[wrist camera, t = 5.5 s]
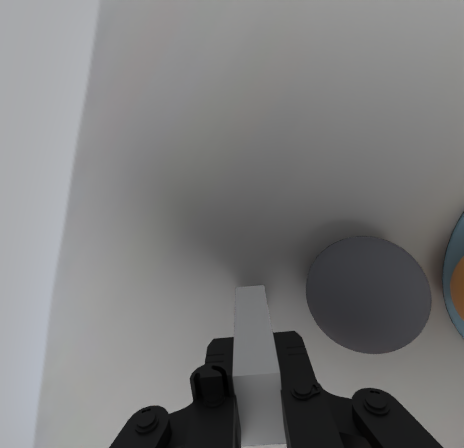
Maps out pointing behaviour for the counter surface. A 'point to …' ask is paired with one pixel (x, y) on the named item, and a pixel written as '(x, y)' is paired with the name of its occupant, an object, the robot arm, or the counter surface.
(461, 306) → the object ball
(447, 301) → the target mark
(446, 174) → the counter surface
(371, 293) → the dark grey ball
